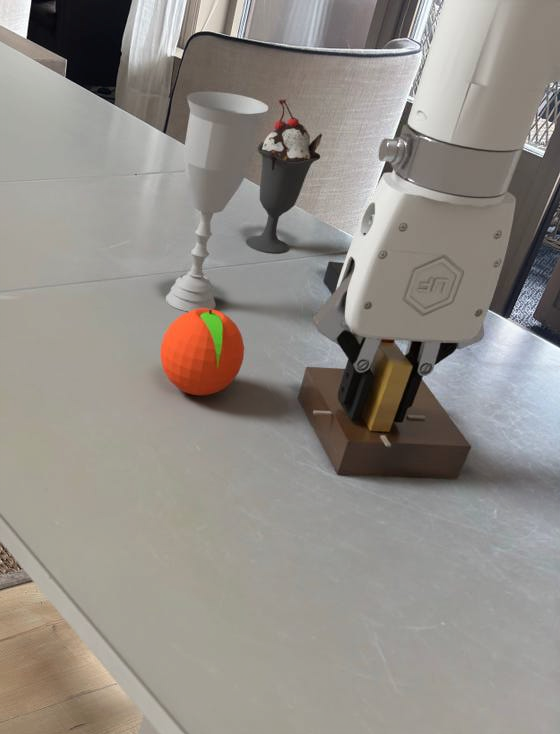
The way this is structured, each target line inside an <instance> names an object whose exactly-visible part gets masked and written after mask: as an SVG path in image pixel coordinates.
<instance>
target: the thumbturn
mask: <svg viewBox="0 0 560 734" xmlns="http://www.w3.org/2000/svg"><path fill="white" fill-rule="evenodd" d="M405 355H406V354H404V353H403V351H402V350H401V348H400V347H399V346H398V344H397V343H396V340H390V339H382V340H381V342H380V345H379V347H378V349H377V352H376V354H375V356H374V359H373V361H372V364H371V367H370V370H371V371H372V373H373V374H374V379H373V382H372V385H371V388H370V391H369V394H368V397H367V400H366V403H365V406H364V409H363V412H362V415H361V417H362V418H363V420H364V422H365V423H366V425H367V426H368V428H369V430H370V431H382V432H389V431H390V429H391V426H392V423H393V420H394V417H395V415H396V412H397V409H398V406H399V403H400V401H401V398H402V395H403V392H404V389H405V387H406V384H407V381H408V378H409V376H410V373H411V370H412V367H413V366H412V365H411V363H410V362H409V361H408V359H407V358H406V357H405Z"/></svg>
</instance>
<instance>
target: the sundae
mask: <svg viewBox="0 0 560 734" xmlns="http://www.w3.org/2000/svg"><path fill="white" fill-rule="evenodd" d="M286 101H287V100H286V99H279V100H278V103H279V104H280V105H281V107H282V113H281V117H280V119H279V120H278V121H276V122H275V123H274V130H273V131H271V133H269V134H268V135H267V136H266V137H265V139H264V141H262V142H260V143H259V144H258V146H257V149H256V151H257V152H258V153H259V154H260V155H261V173H260V181H259V182H260V183H259V202H260V204H261V205H262V208H263V209H264V210H265V212H267V220H266V224H265V226H264V229H263V231H262V233H261V234H259V235H253V236H249V237H247V238H246V240H245V243H246V245H247V246H248V247H249V248H251V249H252V250H255V251H258V252H262V253H265V254H283V253H286V252H288V250H289V249H290V248H289V245H288V244H287V243H286V242H285V241H284V240H281V239H279V238H278V235H277V227H278V223H279V219H280V217H281V216H282V215H283V214H285V213H287V212H289V211H290V210H291V209H292V208H293V207H295V205H296V203H297V200H298V199H299V196H300V193H301V191H302V189H303V185H304V183H305V180H306V177H307V175H308V172H309V170H310V168H311V166H312V164H313V163H314V162H316V161H318V160H320V158H321V154H319V153H318V152H316V150H317V149H318V147H319V145H320V143H321V141H322V137H323V134H322V133H319V134H318V135H317V136H316V137H315V138H314V139H313V140H312V141H311V135H310V133H309V131H308V130H307V128H306V127H305V125H303V124H301V123H300V121H299V119H298V118H297V117H294V116H293V114H292V112H291V111H290V109H289V107H288V104H287V103H286ZM284 105H285V106H284ZM285 107H286V109H287V112H288V114H289V116H290V118H289V119H288V121H287V123H286V122H285V120H283V119H284V117H285Z"/></svg>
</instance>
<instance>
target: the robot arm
mask: <svg viewBox="0 0 560 734" xmlns="http://www.w3.org/2000/svg"><path fill="white" fill-rule="evenodd" d="M552 83H560V0H443V2H442V6H441V8H440V13H439V16H438V19H437V23H436V26H435V30H434V32H433V36H432V39H431V42H430V45H429V49H428V52H427V56H426V59H425V62H424V66H423V69H422V72H421V75H420V78H419V82H418V85H417V89H416V92H415V96H414V98H413V102H412V106H411V108H410V112H409V115H408V119H407V122H406V124H403V125H402V128H401V131H400V134H399V137H398V136H395V137H394V138H386V137H385V138H384V139H382V140H381V142H380V144H379V149H378V160H379V161H381V162H388V163H389V164H390V165H391V166H390V167H391V168H392V172H383V174H382V176H381V177H380V179H379V181H378V183H377V185H376V186H375V189H374V190H373V192H372V194H371V196H370V198H369V200H368V203H367V204H366V205H365V209H364V211H363V213H362V216H361V218H360V220H359V222H358V225H357V227H356V229H355V232H354V234H353V236H352V237H353V238H352V239H351V243H350V245H349V247H348V250H347V253H346V256H345V259H344V262H343V263H344V265H343V268H342V271H341V274H340V277H339V280H338V284H337V288H336V291H335V292H334V293H333V294H331V296H330V297H329V298H328V299H327V300H326V302H325V303H324V304H323V305H322V306H321V308H320V309H319V310H318V311H317V313H316V314H315V315H314V317H313V319H312V323H313V325H314V327H315V329H316V330H317V332H318V333H320V334H321V335H322V336H324V337H326V338H327V339H328V340H330V341H331V342H333V343H335V344H337V345H338V346H339V347H340V349H341V350H342V352H343V353H344V355H345V357H346V358H347V361H346V365H345V368H344V369H345V371H344V374H343V377H342V381H341V384H340V387H339V390H338V401H339V402H340V404H341V406H342V407H343V409H344V411H345V413H346V414H347V416H348V418H349V419H350V420H358V419H360V418H361V415H362V412H363V409H364V406H365V403H366V400H367V397H368V394H369V391H370V388H371V385H372V382H373V379H374V374H373V373H372V371H371V370H370V367H371V364H372V361H373V359H374V356H375V354H376V352H377V349H378V347H379V345H380V342H381V340H382V339H390V340H395V341H406V342H407V347H406V349H405V354H404V355H405V357H406V358H407V359H408V361H409V362H410V363H411V365H412V366H413V367H412V370H411V373H410V376H409V378H408V381H407V384H406V387H405V389H404V392H403V395H402V398H401V401H400V403H399V406H398V409H397V412H396V415H395V417H394V420H393V421H394V422H399V423H402V422H403V420H404V417H405V415H406V412H407V409H408V408H410V407H411V406H412V404H413V402H414V399H415V396H416V394H417V391H418V388H419V386H420V383H421V380H423V377H426V376H429V375H430V374H432V372H433V371H434V369H435V366H436V365H437V364H439V363H440V362H442V361H443V360H445V359H446V358H448V357H449V356H451V355H452V354H454V352H455V351H456V350H462V349H464V348H467V347H469V346H472V345H474V344H478V343H480V342H481V341H482V340H483V339H484V338H485V327H484V322H485V320H486V317H487V315H488V312H489V309H490V306H491V303H492V301H493V298H494V294H495V291H496V289H497V286H498V283H499V282H498V281H499V279H500V275H501V272H502V268H503V265H504V262H505V258H506V253H507V250H508V246H509V241H510V238H511V232H512V227H513V221H514V215H515V211H516V210H515V209H516V203H517V198H516V197H515V196H514V195H513V194H512V193H511V192H509V191H508V189H509V187H510V184H511V181H512V178H513V176H514V173H515V171H516V168H517V166H518V162H519V160H520V158H521V155H522V152H523V150H524V147H525V145H526V142H527V139H528V136H529V134H530V131H531V128H532V126H533V124H534V121H535V118H536V116H537V113H538V111H539V108H540V105H541V102H542V99H543V98H544V95H545V92H546V89H547V87H548V86H549V85H550V84H552ZM343 318H344V321H345V323H346V324H344V323H343V322H341V321H342V319H343Z"/></svg>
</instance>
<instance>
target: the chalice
mask: <svg viewBox="0 0 560 734" xmlns="http://www.w3.org/2000/svg"><path fill="white" fill-rule="evenodd" d="M186 99H187V104H188V107H189V117H188V122H187V130H186V135H185V141H184V146H183V154H182V159H183V166H184V167H183V168H184V173H185V180H186V183H187V188H188V190H189V195H190V198H191V203H192V206H193V208H194V209H196V210H198V211H199V212H200V222H199V224H198V227H197V229H196V230H195V231H194V234H195V236H196V244H195V245H194V248H193V249H192V250H190V254H191V255H192V265H191V268H190V270H188V271H187V273H183V274H181V275H180V276H179V277H178V278H176V280H175V281H174V282H175V283H174V284H173V285H172V287H171V288H170V291H169V292H168V293H167V294H166V296H165V302H167V304H168V305H170V306H171V307H173V308H174V309H177V310H180V311H185V312H190V311H192V310H195V309H200V308H207V309H213V310H215V309H216V307H217V305H216V301H215V299H214V297H215V294H214V293H215V292H214V291H213V283H211V281H210V279H209V278H208V277H207V276H205V273H204V272H203V264H204V262H205V259H206V258H207V257H209V255H210V253H209V251H208V250H207V243H208V241H209V239H210V238H211V237H212V235H213V233H212V230H211V221H212V219H213V217H214V214H217V213H221V212H223V211H224V210H225V208H226V207H227V205H228V204H229V203H230V201H231V200H232V198H233V197H234V196H235V194H236V192H237V191H238V190H239V188H240V187H241V185H242V184H243V181H244V179H245V178H246V176H247V174H248V172H249V170H250V169H251V166H252V162H253V156H254V152H255V147H256V143H257V138H258V132H259V128H260V123H261V120H262V119H263V118H264V116H265V115H266V113H267V112H268V111H269V108H270V107H269V106H268V105H267V104H266V103H265V102H262V101H261V100H259V99H256V98H252V97H250V96H249V97H248V96H245V95H240V94H235V93H230V92H220V91H196V92H195V91H194V92H192V93H189V94H188V95H186Z"/></svg>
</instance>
